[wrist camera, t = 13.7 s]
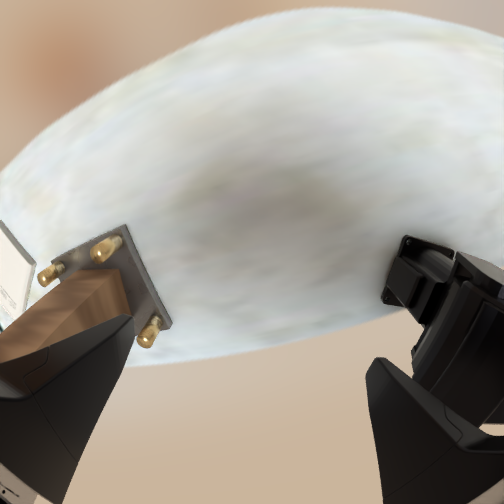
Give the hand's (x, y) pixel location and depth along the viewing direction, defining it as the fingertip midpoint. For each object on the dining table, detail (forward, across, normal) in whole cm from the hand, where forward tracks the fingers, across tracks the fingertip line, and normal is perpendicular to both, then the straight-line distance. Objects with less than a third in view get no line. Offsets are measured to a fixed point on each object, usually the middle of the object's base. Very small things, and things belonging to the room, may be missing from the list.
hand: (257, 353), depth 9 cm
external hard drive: (+14, +30, +11) cm, 35 cm away
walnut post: (+12, +13, +8) cm, 19 cm away
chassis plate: (+13, +13, +8) cm, 20 cm away
